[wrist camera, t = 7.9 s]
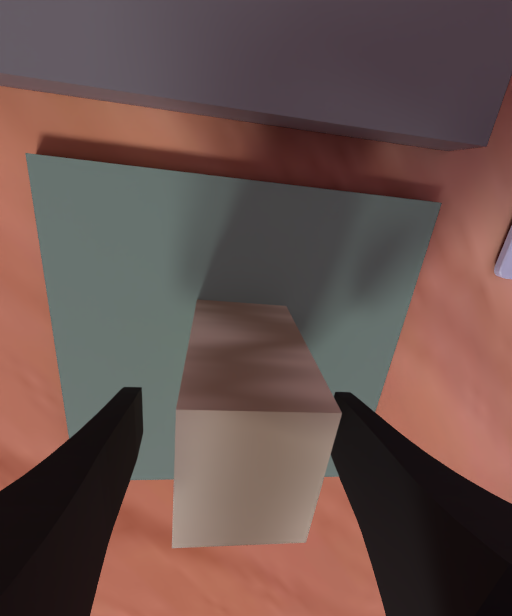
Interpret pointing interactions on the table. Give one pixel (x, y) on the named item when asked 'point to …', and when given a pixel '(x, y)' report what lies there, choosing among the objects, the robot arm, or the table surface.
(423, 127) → the pocket plate
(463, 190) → the table surface
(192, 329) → the birch block
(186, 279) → the rubber mat
